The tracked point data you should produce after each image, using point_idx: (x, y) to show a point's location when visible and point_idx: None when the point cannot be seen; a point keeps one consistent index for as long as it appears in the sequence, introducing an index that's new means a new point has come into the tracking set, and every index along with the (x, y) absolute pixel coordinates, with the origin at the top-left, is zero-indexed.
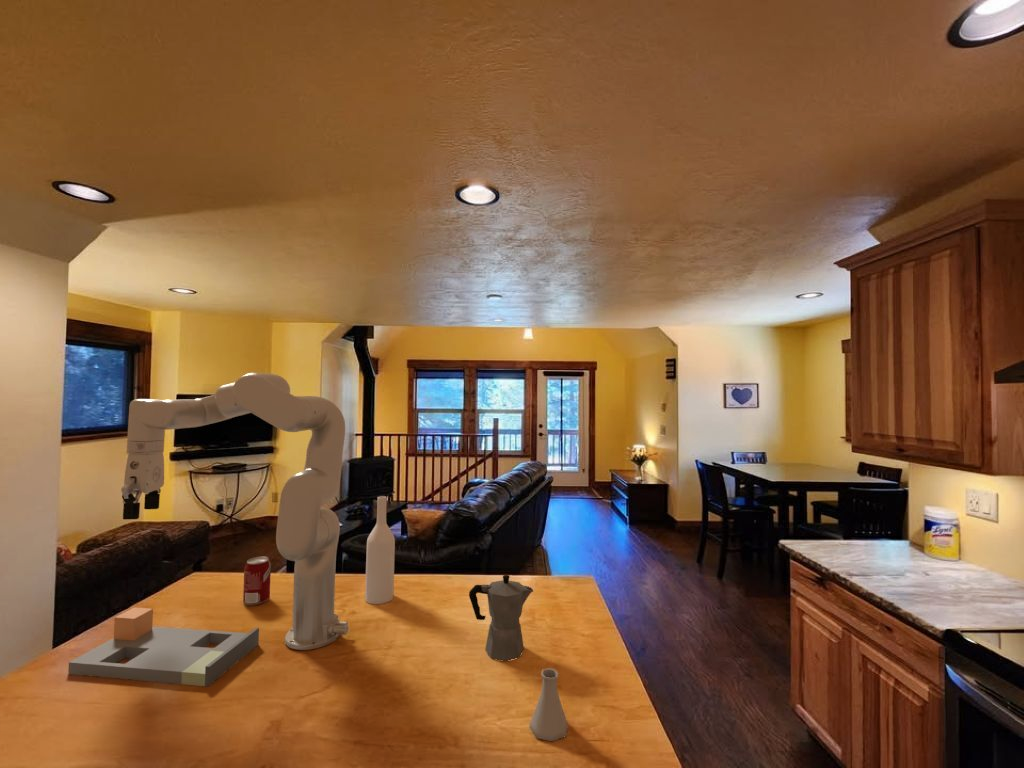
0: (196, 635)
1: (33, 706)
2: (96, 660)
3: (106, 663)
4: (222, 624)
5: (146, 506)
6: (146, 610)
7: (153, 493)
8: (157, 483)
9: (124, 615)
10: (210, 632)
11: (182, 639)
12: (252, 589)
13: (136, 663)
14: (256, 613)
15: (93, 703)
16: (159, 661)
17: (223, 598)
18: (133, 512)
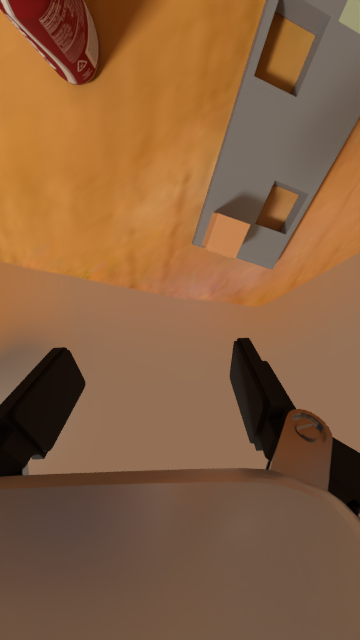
0: (257, 105)
1: (318, 260)
2: (280, 240)
3: (294, 222)
4: (177, 95)
5: (78, 388)
6: (222, 221)
7: (17, 441)
8: (10, 627)
9: (232, 247)
10: (253, 72)
11: (263, 131)
12: (82, 8)
13: (315, 175)
14: (132, 9)
15: (349, 197)
16: (328, 134)
17: (71, 156)
18: (268, 371)
